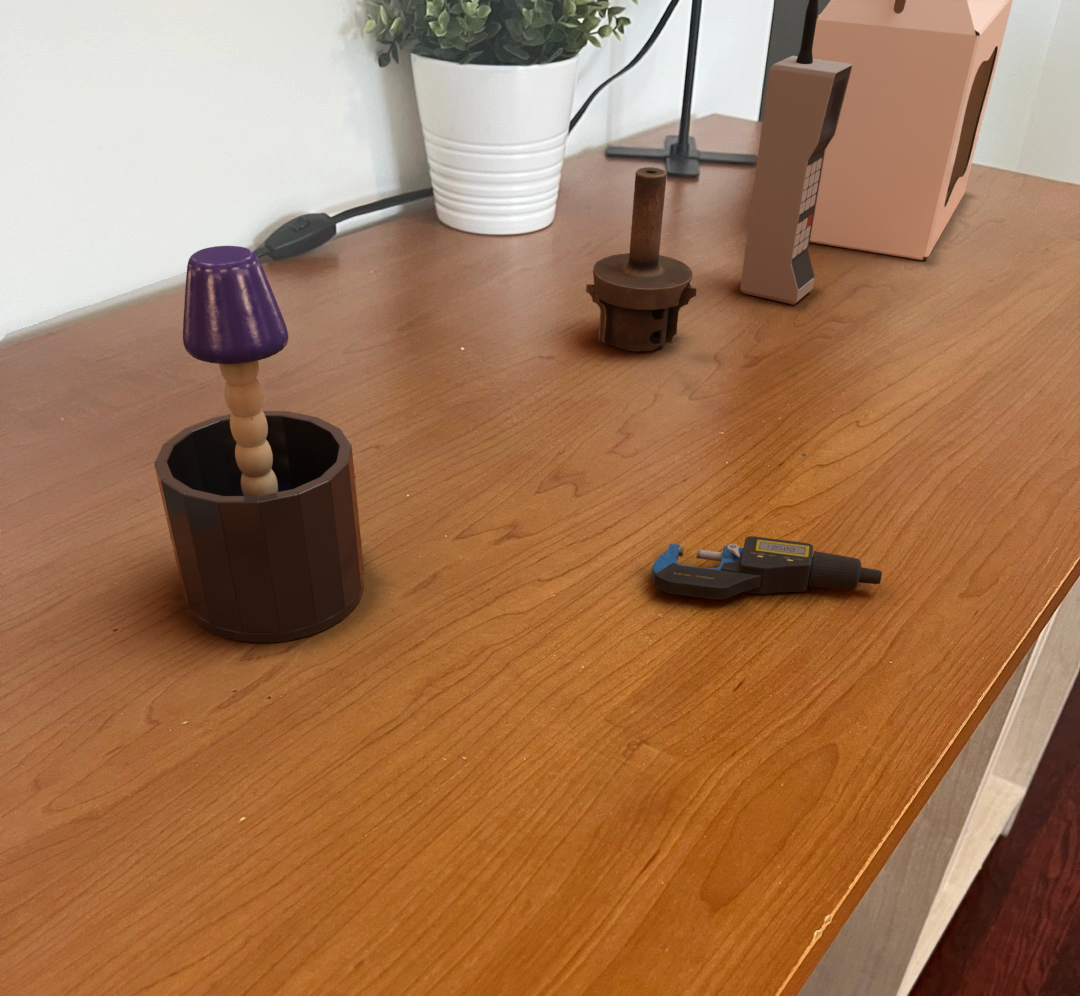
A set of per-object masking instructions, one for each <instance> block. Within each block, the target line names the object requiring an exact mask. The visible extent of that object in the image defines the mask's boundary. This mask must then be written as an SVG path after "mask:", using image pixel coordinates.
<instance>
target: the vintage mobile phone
mask: <svg viewBox="0 0 1080 996" xmlns="http://www.w3.org/2000/svg"><path fill="white" fill-rule="evenodd" d="M818 15H819V0H808V3H807V7H806V10H805V15H804V22H803V30H802V35H801V36H802V37H801V43H800V49H799V52H798V54H797V55H791V56H789V57H786V58H784V59H782V60H780V61H777V62H775V63H773V64H772V66H770V67H769V71H768V77H767V78H768V79H767V86H766V93H765V100H764V107H763V108H764V109H763V115H762V122H761V130H760V138H759V146H758V154H757V160H756V167H755V174H754V175H755V176H754V182H753V190H752V197H751V205H750V213H749V220H748V227H747V234H746V242H745V248H744V249H745V250H744V255H743V257H744V258H743V264H742V272H741V279H740V286H739V287H740V288H739V290H740V292H741V293H742V294H745V295H748V296H749V295H750V296H754V297H758V298H762V299H766V300H771V301H775V302H779V303H784V304H789V305H795V304H797V303H799V301H801V299H803V298H804V297H805V296H806V295H807V294H809V293H810V292H811V291H812V290H813V289H814V285H815V278H816V277H815V273H814V268H813V265H812V261H811V257H810V253H809V249H810V243H811V242H810V237H811V231H812V226H813V220H814V214H815V208H816V202H817V196H818V190H819V184H820V178H821V172H822V167H823V161H824V155H825V149H826V148H827V146H828V145H829V143H830V141H831V140H832V138H833V137H834V135H835V132H836V128H837V124H838V120H839V116H840V112H841V108H842V105H843V101H844V97H845V93H846V89H847V85H848V81H849V77H850V73H851V69H852V64H849V63H842V62H835V61H828V60H820V59H813V56H812V47H813V41H814V34H815V28H816V21H817V16H818Z"/></svg>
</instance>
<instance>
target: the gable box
mask: <svg viewBox="0 0 1080 996" xmlns="http://www.w3.org/2000/svg"><path fill="white" fill-rule="evenodd" d="M1013 1H1014V0H830V1H829V2H828V3H827V5H826V6H825V7H824V8H823V10H822V12H821V13H820V14H818V15H817V21H816V28H815V34H814V41H813V47H812V56H813V59H820V60H828V61H835V62H842V63H849V64H852V69H851V73H850V77H849V81H848V85H847V89H846V93H845V97H844V101H843V105H842V108H841V112H840V116H839V120H838V124H837V128H836V132H835V135H834V137H833V138H832V140H831V141H830V143H829V145H828V146H827V148H826V149H825V155H824V161H823V167H822V172H821V178H820V184H819V190H818V196H817V202H816V208H815V214H814V220H813V226H812V231H811V237H810V243H811V244H812V243H813V244H819V245H826V246H831V247H838V248H843V249H849V250H857V251H863V252H867V253H868V252H869V253H874V254H882V255H886V256H893V257H899V258H905V259H906V258H907V259H913V260H918V261H925V260H926V259H928V258H929V256H930V254H932V253H931V252H932V251H933V249H934V247H935V246H936V244H937V242H938V240H939V239H940V237H941V236H942V234H943V232H944V230H945V228H946V226H947V225H948V223H949V221H950V219H951V218H952V216H953V214H954V213H955V211H956V209H957V208H958V206H959V204H960V202H961V201H962V199H963V197H964V195H965V194H966V188H967V185H968V182H969V178H970V177H969V176H970V173H971V170H972V169H971V168H972V166H973V161H974V156H975V153H976V148H977V145H978V141H979V137H980V133H981V130H982V129H981V128H982V125H983V121H984V117H985V113H986V109H987V104H988V101H989V97H990V93H991V88H992V85H993V81H994V77H995V73H996V69H997V65H998V61H999V57H1000V54H1001V49H1002V45H1003V41H1004V38H1005V37H1004V36H1005V34H1006V29H1007V26H1008V22H1009V17H1010V13H1011V9H1012V4H1013Z"/></svg>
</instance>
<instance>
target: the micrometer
mask: <svg viewBox="0 0 1080 996" xmlns="http://www.w3.org/2000/svg"><path fill="white" fill-rule="evenodd" d="M684 552H685V547H684V546H681V544H679V543H669V546H668V548H667V549H666V550H665V551H664V552H663V553H662V554H661V555H659V556H658V558H657V559H656V560H655V561H654V563H653V565H652V569H651V571H652V572H651V573H652V574H651V576H652V577H651V578H652V580H653V586H654V587H655V588H657V589H658V590H660V591H662V592H664V593H668V594H671V595H679V596H687V597H695V598H702V599H711V600H720V601H721V600H728V599H729V598H732V597H733V596H736V595H738V594H741V593H749V594H750V593H751V594H756V595H768V594H770V595H771V594H778V593H798V592H799V593H800V592H801V593H802V592H806V591H807V590H808V587H812V588H813V587H814V588H825V589H836V590H850V591H853V590H856V588H857V587H858V586H859V584H871V585H880V584H881V582H882V576H883V571H882V570H880V569H875V568H868V567H863V566H862V562H861V559H859V558H857V557H851V556H845V555H841V554H835V553H829V552H823V551H817V550H814V545H813V544H811V543H809V542H803V541H802V542H801V541H793V540H787V539H778V538H769V537H762V536H753V535H750V536H746V537H745V539H744V542H743V547H740V546H739V545H738V544H735V543H730V544H728V545H724V546H723V548H722V551H714V550H706V549H697V550H696V556H695V558H696V559H697V560H699V559H700V560H708V561H715V562H720V565H719V566H717V567H711V568H708V567H699V566H693V565H686V564H681V563H680V562H678V560H679V557H683V556H684Z"/></svg>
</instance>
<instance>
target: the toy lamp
mask: <svg viewBox="0 0 1080 996" xmlns="http://www.w3.org/2000/svg"><path fill="white" fill-rule="evenodd" d="M185 275H186V277H185V289H184V306H183V307H184V309H183V321H182V343H183V346H184V349H185V351H186V352H187V354H188V355H189V356H191V357H192V358H194V359H196V360H198V361H201V362H205V363H210V364H218V367H219V370H220V373H221V376H222V377H223V379H224V380H225V385H224V399H225V404H226V405H227V408H228V410H229V411H230V412H231V413H230V414H231V417H230V428H231V432H232V435H233V438H234V439H235V441H236V442H237V444H236V447H235V458H236V462H237V465H238V467H239V469H240V471H241V472H242V475H241V488H242V492H243V494H244V496H261V495H266V494H271V493H276V492H278V483H277V478H276V475H275V473H274V472H273V470H272V469H271V467H272V463H273V455H272V450H271V447H270V445H269V443H268V441H267V440H266V437H267V434H268V425H267V420H266V417H265V415H264V413H263V411H264V410H262V408H263V405H264V392H263V388H262V386H261V383H260V381H259V380H258V378H257V377H258V374H259V370H260V369H259V368H260V367H259V366H260V365H259V364H260V363H259V361H261V360H265V359H268V358H271V357H273V356H275V355H277V354H278V353H280V352H282V350H284V349H285V347H286V346H287V345H288V342H289V332H288V328H287V325H286V322H285V319H284V317H283V315H282V312H281V308H280V307H279V304H278V301H277V299H276V296H275V294H274V292H273V289H272V287H271V284H270V282H269V280H268V277H267V274H266V271H265V269H264V267H263V264H262V263H261V261H260V259H259V257H258V255H257V254H256V253H255V252H254V251H253V250H251V249H249V248H247V247H244V246H239V245H216V246H210V247H206V248H201V249H199V250H197V251H195V252H194V253H192V255H190V257H189V258H188V261H187V266H186V274H185Z"/></svg>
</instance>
